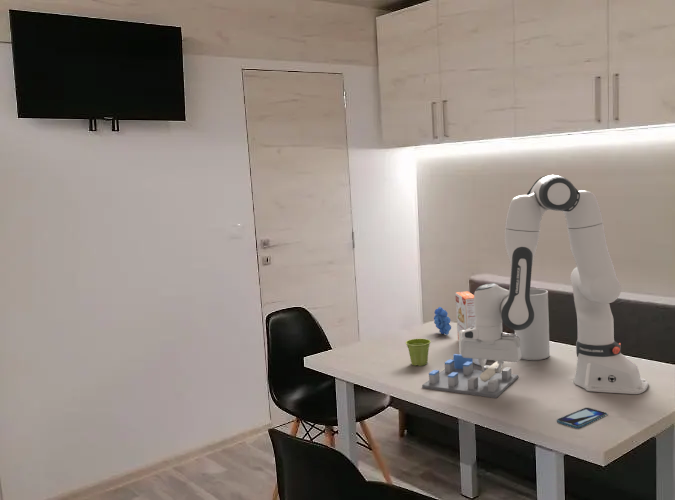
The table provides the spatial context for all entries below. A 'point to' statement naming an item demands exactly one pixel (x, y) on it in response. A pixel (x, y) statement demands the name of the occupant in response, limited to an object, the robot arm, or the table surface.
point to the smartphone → (581, 417)
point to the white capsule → (489, 372)
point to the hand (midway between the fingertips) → (491, 372)
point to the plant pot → (418, 351)
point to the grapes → (442, 321)
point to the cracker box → (465, 310)
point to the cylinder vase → (536, 329)
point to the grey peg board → (468, 379)
